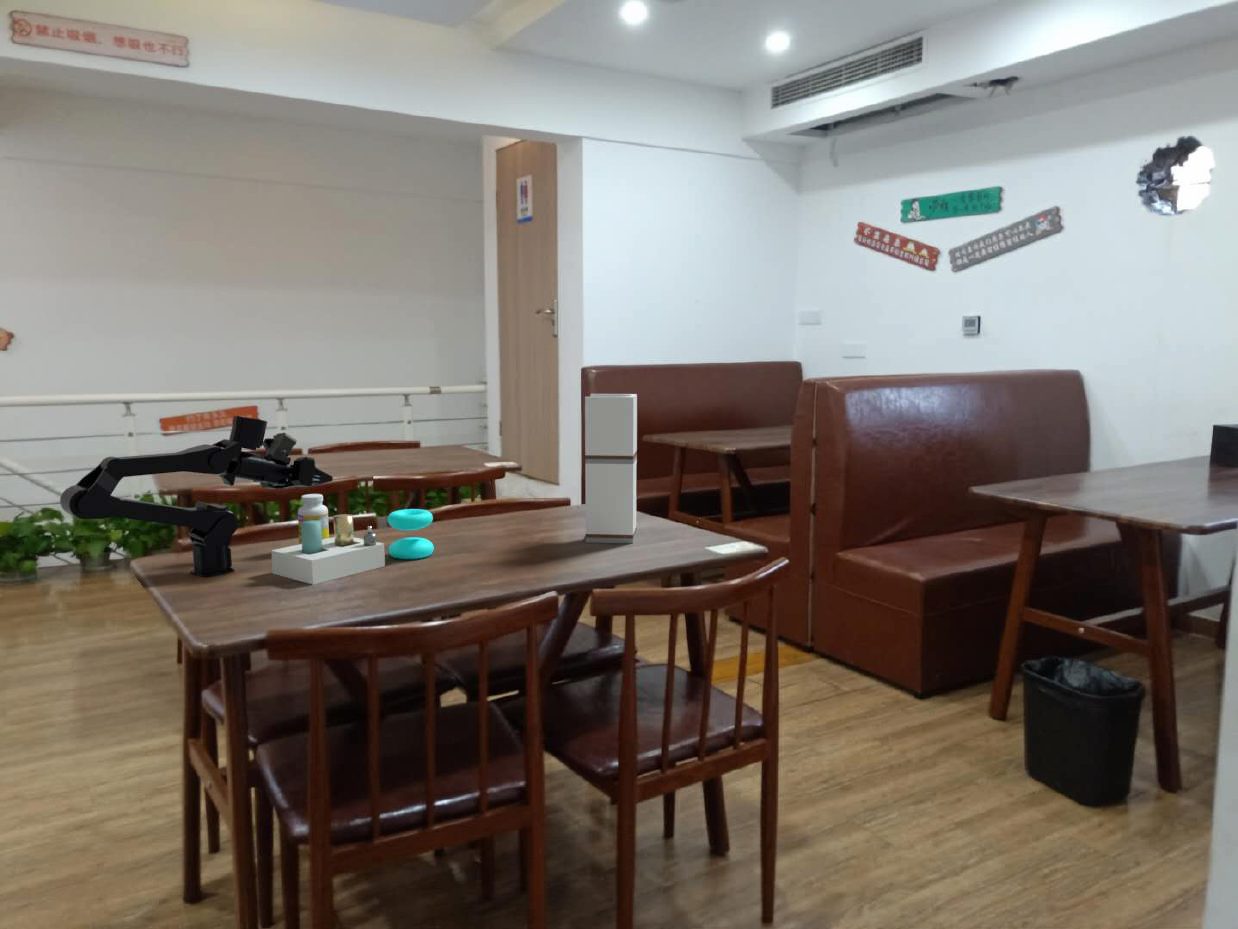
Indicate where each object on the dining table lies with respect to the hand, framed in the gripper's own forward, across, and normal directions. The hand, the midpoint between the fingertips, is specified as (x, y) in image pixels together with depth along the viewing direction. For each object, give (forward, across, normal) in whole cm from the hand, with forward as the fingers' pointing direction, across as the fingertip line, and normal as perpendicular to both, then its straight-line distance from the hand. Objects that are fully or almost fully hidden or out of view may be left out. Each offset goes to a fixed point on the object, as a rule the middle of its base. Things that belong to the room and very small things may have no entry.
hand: (321, 479), depth 207 cm
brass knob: (0, -13, +15) cm, 20 cm away
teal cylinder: (-7, -14, +18) cm, 23 cm away
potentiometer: (+3, -18, +14) cm, 23 cm away
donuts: (+16, -15, +15) cm, 27 cm away
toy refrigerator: (+59, -37, +6) cm, 70 cm away
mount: (-2, -13, +20) cm, 24 cm away
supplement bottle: (+4, +6, +16) cm, 17 cm away
